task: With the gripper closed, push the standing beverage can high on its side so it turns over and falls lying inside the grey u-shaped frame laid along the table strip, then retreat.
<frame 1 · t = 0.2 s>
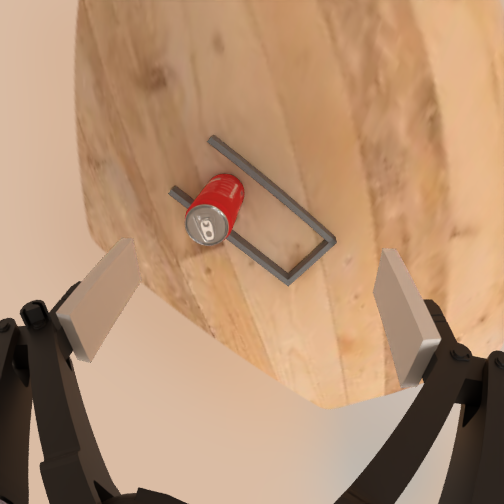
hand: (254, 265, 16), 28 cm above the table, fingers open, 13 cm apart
beverage can: (226, 189, 44), resting in grey u-shaped frame
grey u-shaped frame: (254, 212, 45), on the table
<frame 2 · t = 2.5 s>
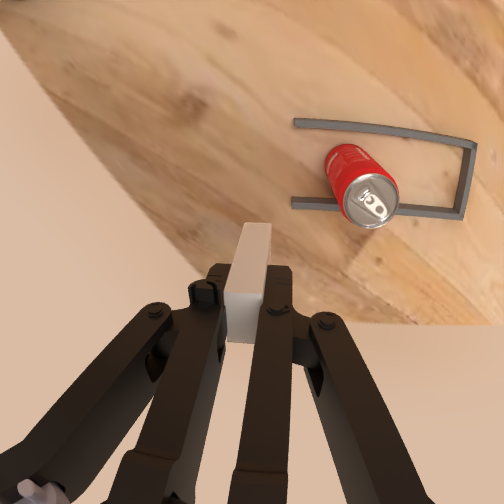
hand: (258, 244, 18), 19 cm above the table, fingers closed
beverage can: (346, 163, 34), resting in grey u-shaped frame
grey u-shaped frame: (387, 168, 34), on the table
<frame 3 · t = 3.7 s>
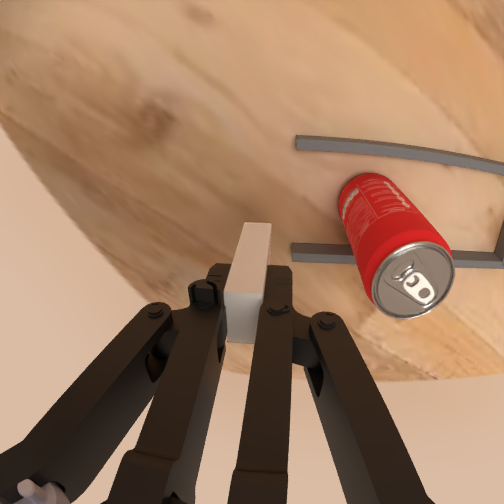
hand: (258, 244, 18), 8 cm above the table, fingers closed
beverage can: (366, 199, 25), resting in grey u-shaped frame
grey u-shaped frame: (420, 204, 25), on the table
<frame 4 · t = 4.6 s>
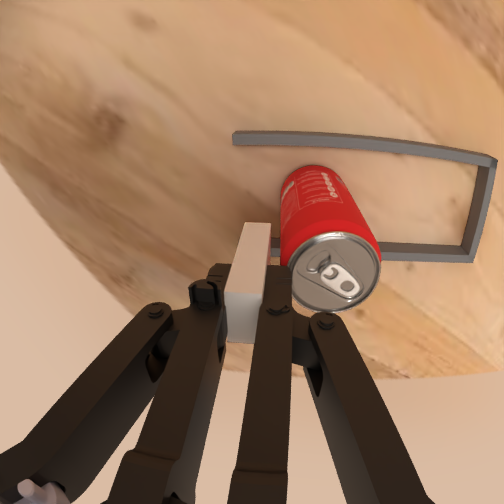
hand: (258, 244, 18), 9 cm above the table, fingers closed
beverage can: (312, 191, 26), resting in grey u-shaped frame, touching gripper
grey u-shaped frame: (371, 196, 25), on the table
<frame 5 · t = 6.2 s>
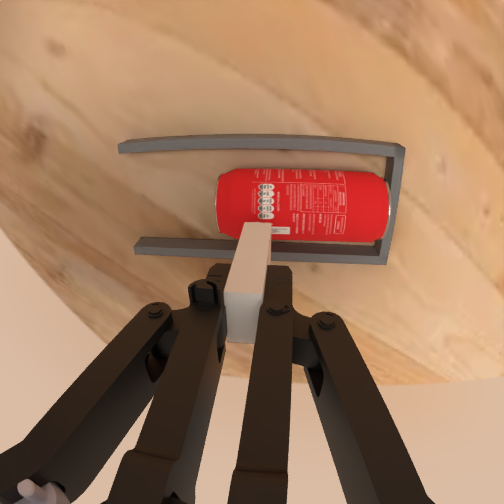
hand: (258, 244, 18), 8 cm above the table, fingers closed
beverage can: (218, 203, 24), point 3 cm above the table
grey u-shaped frame: (258, 195, 26), on the table
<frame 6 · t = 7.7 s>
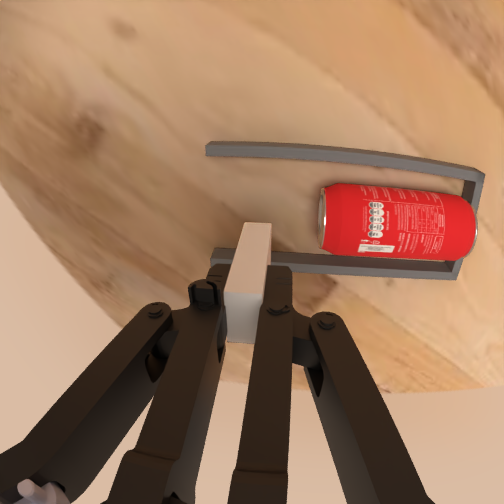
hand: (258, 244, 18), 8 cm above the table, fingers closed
beverage can: (318, 217, 23), point 3 cm above the table
grey u-shaped frame: (349, 209, 25), on the table
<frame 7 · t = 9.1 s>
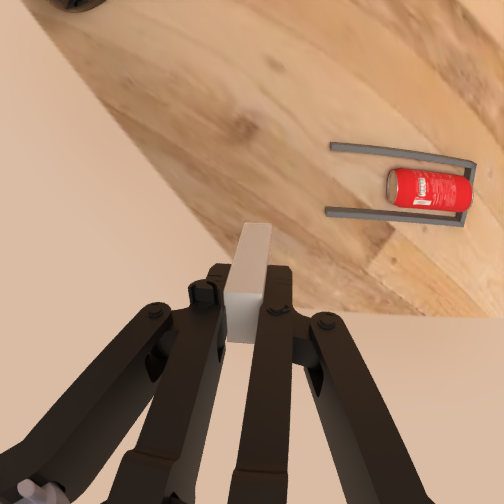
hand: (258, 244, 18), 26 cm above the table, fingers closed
beverage can: (390, 187, 39), point 3 cm above the table
grey u-shaped frame: (403, 184, 41), on the table
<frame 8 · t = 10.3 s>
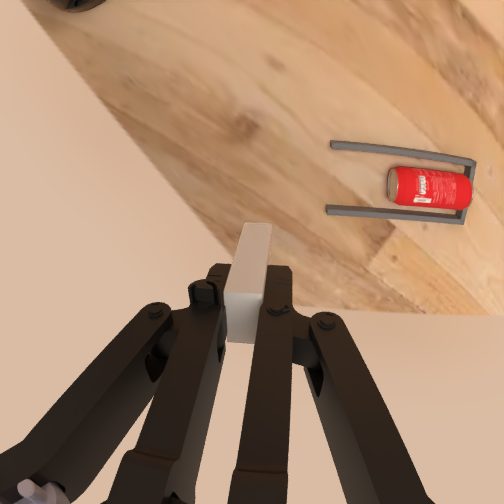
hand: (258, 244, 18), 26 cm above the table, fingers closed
beverage can: (390, 185, 39), point 3 cm above the table
grey u-shaped frame: (403, 182, 41), on the table
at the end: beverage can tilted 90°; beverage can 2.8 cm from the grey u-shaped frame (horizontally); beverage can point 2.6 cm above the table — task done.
